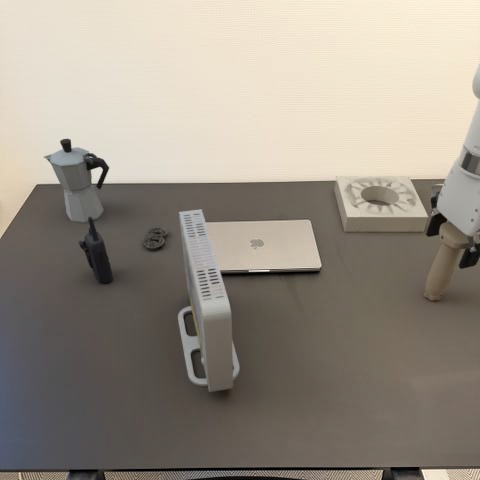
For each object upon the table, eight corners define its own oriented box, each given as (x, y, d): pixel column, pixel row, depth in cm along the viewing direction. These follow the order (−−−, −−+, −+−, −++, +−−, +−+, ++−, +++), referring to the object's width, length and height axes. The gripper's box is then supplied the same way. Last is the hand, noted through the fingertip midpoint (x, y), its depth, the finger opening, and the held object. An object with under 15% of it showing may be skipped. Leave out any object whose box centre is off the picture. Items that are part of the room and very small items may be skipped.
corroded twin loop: (170, 230, 107) (169, 226, 107) (163, 251, 102) (162, 248, 101) (148, 229, 108) (148, 225, 107) (140, 250, 102) (139, 246, 101)
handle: (427, 308, 89) (452, 244, 79) (413, 286, 94) (435, 223, 83) (451, 306, 90) (479, 242, 79) (436, 284, 94) (461, 220, 83)
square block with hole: (404, 190, 119) (408, 176, 116) (423, 231, 107) (428, 216, 104) (334, 190, 119) (336, 176, 117) (344, 231, 107) (347, 216, 104)
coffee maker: (52, 220, 111) (27, 147, 98) (68, 200, 117) (46, 129, 104) (112, 226, 109) (95, 152, 96) (125, 206, 115) (110, 134, 102)
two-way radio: (116, 281, 95) (99, 219, 84) (94, 289, 94) (75, 226, 83) (107, 266, 99) (90, 204, 88) (86, 273, 97) (67, 211, 86)
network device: (247, 396, 75) (248, 307, 61) (193, 406, 74) (181, 317, 60) (218, 292, 93) (213, 203, 79) (174, 298, 92) (161, 210, 77)
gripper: (547, 183, 66) (499, 275, 79) (470, 132, 78) (438, 220, 90) (503, 191, 65) (461, 284, 77) (431, 139, 76) (404, 227, 89)
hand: (449, 250), depth 84 cm, fingers open, 9 cm apart
